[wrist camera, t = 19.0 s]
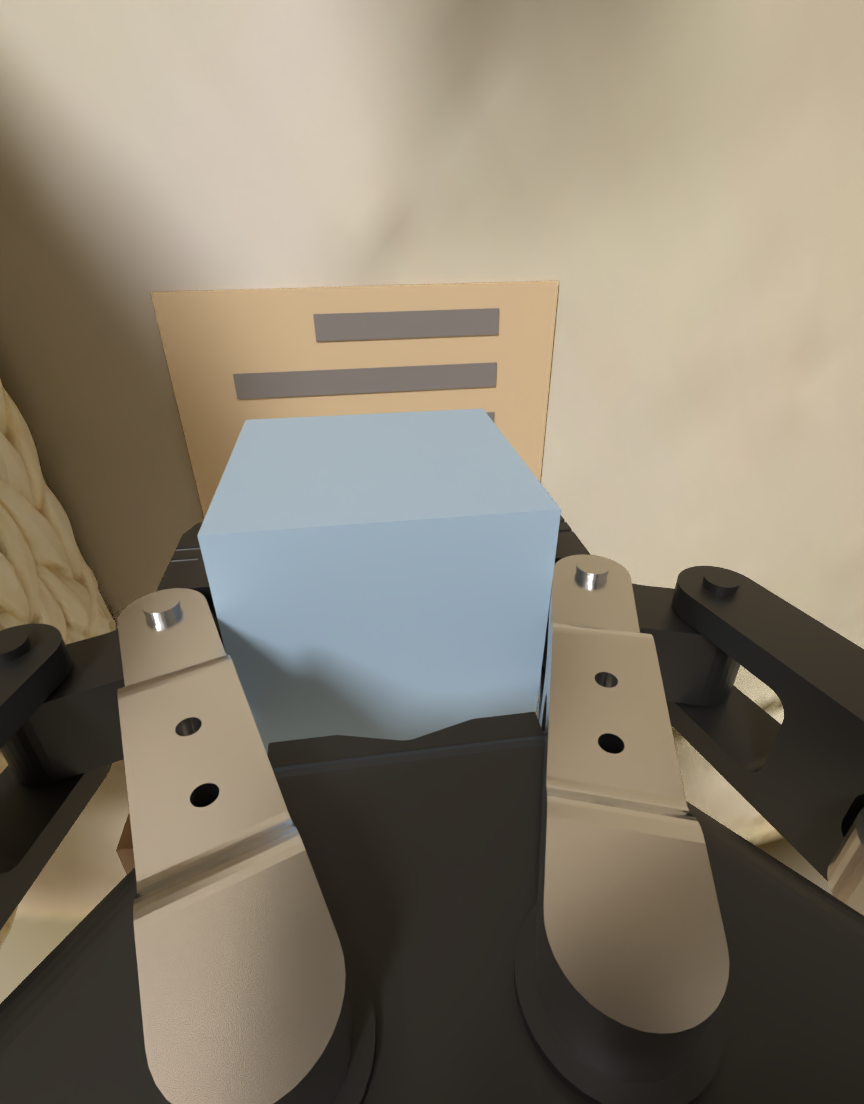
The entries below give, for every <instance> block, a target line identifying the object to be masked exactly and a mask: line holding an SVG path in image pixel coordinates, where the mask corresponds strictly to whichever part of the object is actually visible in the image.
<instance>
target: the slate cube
mask: <svg viewBox="0 0 864 1104" xmlns="http://www.w3.org/2000/svg"><path fill="white" fill-rule="evenodd" d="M560 515H561V509H560V507H559V506H558V505H557V503H556V502H555V501H554V500H553V498H552V497H551V496H550V494H549V493H548V492H547V491H546V489H545V488H544V487H543V485H542V484H541V483H540V482H539V480H538V479H537V478H536V476H535V475H534V474H533V472H532V471H531V470H530V469H529V467H528V466H527V465H526V463H525V462H524V461H523V460H522V458H521V457H520V456H519V454H518V453H517V452H516V451H515V449H514V448H513V447H512V445H511V444H510V443H509V442H508V440H507V439H506V438H505V436H504V435H503V434H502V433H501V431H500V430H499V429H498V427H497V426H496V425H495V423H494V422H493V421H492V420H491V418H490V417H489V416H488V414H487V413H486V412H485V411H484V409H462V410H441V411H420V412H399V413H378V414H357V415H336V416H315V417H294V418H273V419H252V420H245V423H244V425H243V427H242V430H241V432H240V435H239V437H238V439H237V442H236V444H235V447H234V449H233V451H232V454H231V456H230V459H229V461H228V463H227V466H226V468H225V471H224V473H223V475H222V478H221V480H220V483H219V485H218V487H217V490H216V492H215V494H214V497H213V499H212V502H211V504H210V506H209V509H208V511H207V514H206V516H205V518H204V521H203V523H202V526H201V528H200V530H199V533H198V535H197V536H198V540H199V544H200V549H201V553H202V557H203V561H204V565H205V569H206V574H207V578H208V582H209V586H210V590H211V594H212V599H213V603H214V607H215V611H216V615H217V619H218V624H219V628H220V632H221V636H222V640H223V644H224V649H225V653H226V655H227V654H229V655H230V656H231V659H232V661H233V664H234V667H235V669H236V672H237V675H238V678H239V680H240V683H241V686H242V688H243V691H244V694H245V696H246V699H247V702H248V705H249V707H250V710H251V713H252V715H253V718H254V721H255V723H256V726H257V729H258V732H259V734H260V737H261V740H262V742H263V745H264V748H265V751H266V753H267V754H268V745H269V743H272V742H280V741H289V740H297V739H306V738H314V737H323V736H331V735H345V736H356V737H368V738H379V739H391V740H411V739H415V738H418V737H421V736H424V735H427V734H430V733H432V732H435V731H438V730H441V729H444V728H447V727H450V726H453V725H456V724H459V723H462V722H465V721H468V720H471V719H476V718H484V717H493V716H501V715H510V714H518V713H527V712H535V714H536V710H537V701H538V693H539V685H540V677H541V669H542V661H543V653H544V645H545V637H546V628H547V620H548V612H549V604H550V596H551V588H552V580H553V572H554V564H555V555H556V547H557V539H558V531H559V523H560Z"/></svg>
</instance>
